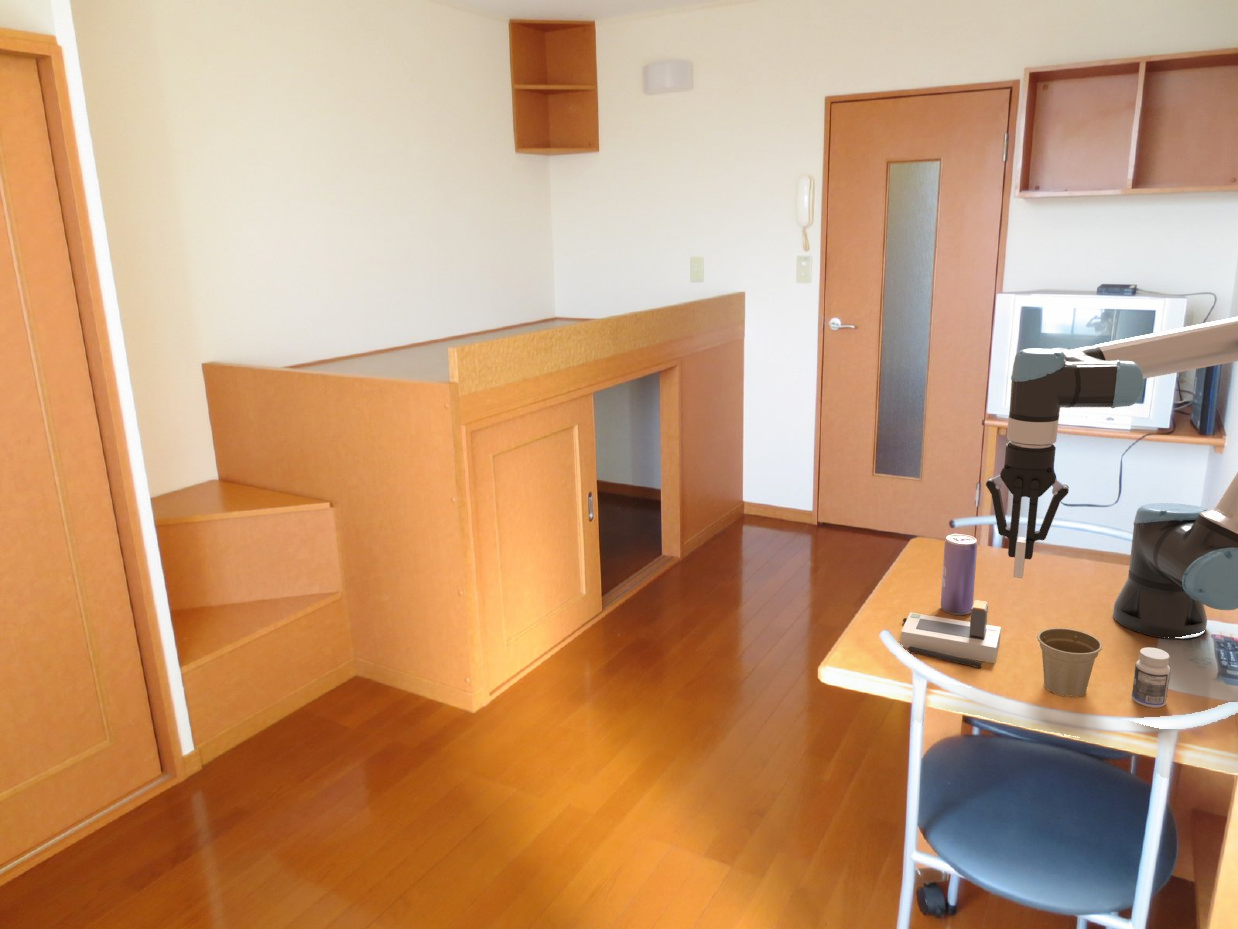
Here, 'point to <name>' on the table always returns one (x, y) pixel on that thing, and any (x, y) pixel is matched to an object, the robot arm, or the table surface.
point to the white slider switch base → (950, 637)
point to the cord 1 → (945, 657)
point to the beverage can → (958, 574)
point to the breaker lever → (978, 618)
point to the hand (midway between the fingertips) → (1018, 575)
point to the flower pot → (1068, 660)
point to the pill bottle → (1151, 678)
